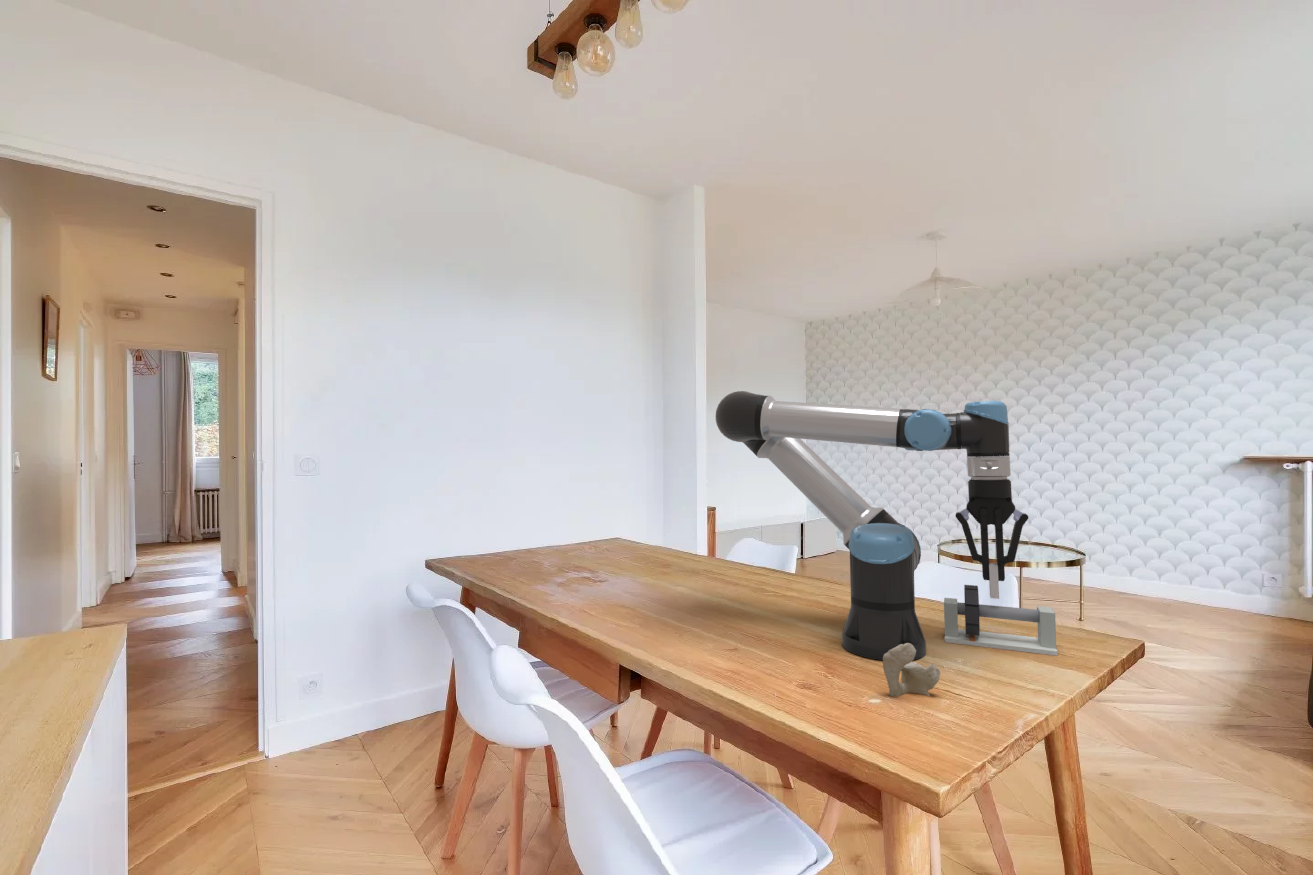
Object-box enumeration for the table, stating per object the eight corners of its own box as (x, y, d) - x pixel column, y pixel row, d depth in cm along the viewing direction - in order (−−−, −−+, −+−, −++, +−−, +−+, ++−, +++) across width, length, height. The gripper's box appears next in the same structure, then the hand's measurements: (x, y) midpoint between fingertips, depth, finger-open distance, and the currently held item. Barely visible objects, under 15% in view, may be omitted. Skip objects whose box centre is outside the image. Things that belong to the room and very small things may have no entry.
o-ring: (966, 638, 115) (964, 591, 116) (965, 625, 124) (964, 581, 124) (979, 639, 114) (978, 592, 115) (978, 627, 123) (977, 582, 123)
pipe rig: (944, 642, 118) (943, 604, 118) (945, 631, 125) (944, 595, 125) (1057, 655, 109) (1056, 615, 109) (1051, 643, 116) (1050, 605, 116)
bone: (929, 671, 98) (935, 628, 93) (943, 705, 92) (950, 662, 88) (876, 673, 99) (879, 631, 94) (886, 707, 93) (890, 665, 88)
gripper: (952, 479, 118) (957, 598, 117) (1029, 478, 112) (1035, 604, 111) (952, 477, 124) (957, 590, 124) (1025, 477, 119) (1030, 595, 118)
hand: (994, 596), depth 117 cm, fingers closed
